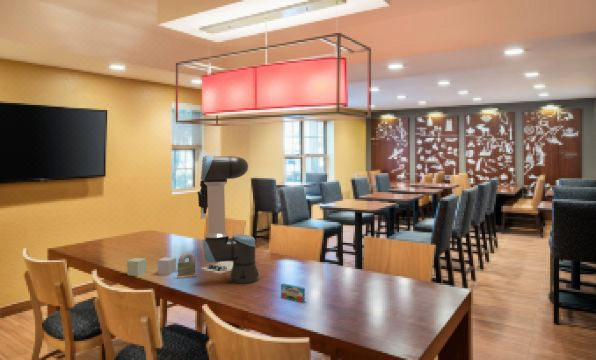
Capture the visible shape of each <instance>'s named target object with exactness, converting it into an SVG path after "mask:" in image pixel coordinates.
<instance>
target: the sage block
mask: <svg viewBox="0 0 596 360" xmlns="http://www.w3.org/2000/svg"><path fill="white" fill-rule="evenodd" d="M126 266H127V267H126V271H127V273H126V274H127V276H132V277H140V276H142V275H145V274H147V273H148V272H147V258H142V257H133V258H131V259H128V260H127V261H126Z"/></svg>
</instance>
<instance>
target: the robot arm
mask: <svg viewBox="0 0 596 360" xmlns="http://www.w3.org/2000/svg"><path fill="white" fill-rule="evenodd" d="M201 161H202V163H201V172H200V181H199V182H200V183H199V186H200V190H199V191H197V196H198V197H197V199H198V200H197V201H198V207H199V208H200V219H206V216H207V223H208V225H207V231H208V233H207V234H206V235H205V239H203V240H202V245H203V253H204V254H203V255H204V258H205V261H206V262H207V263H222V262H232V268H231V271H230V275H229V281H230V282H231V283H234V284H239V285H240V284H241V285H242V284H252V283H255V282H257V281H259V279H260V274H259V271H258V267H257V264H256V239H255V238H254V237H253V236H252V235H247V234H241V233H240V234H239V233H238V234H233V235H232V237H231V238H230V237H229V234H228V233H227V232H226V210H225V209H226V207H225V206H226V203H225V202H226V201H225V185H226V184H228V180H230V179H233V180H234V179H238V178H241V177H242V176H244V175H246V173H247V172H248V170H249V163H248V162H247V160H246V159H245V158H243V157H239V156H233V155H231V156H229V155H227V156H224V155H223V156H222V155H221V156H219V155H218V156H216V155H214V156H213V155H211V156H210V155H204V156H203V157H202V160H201Z"/></svg>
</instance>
